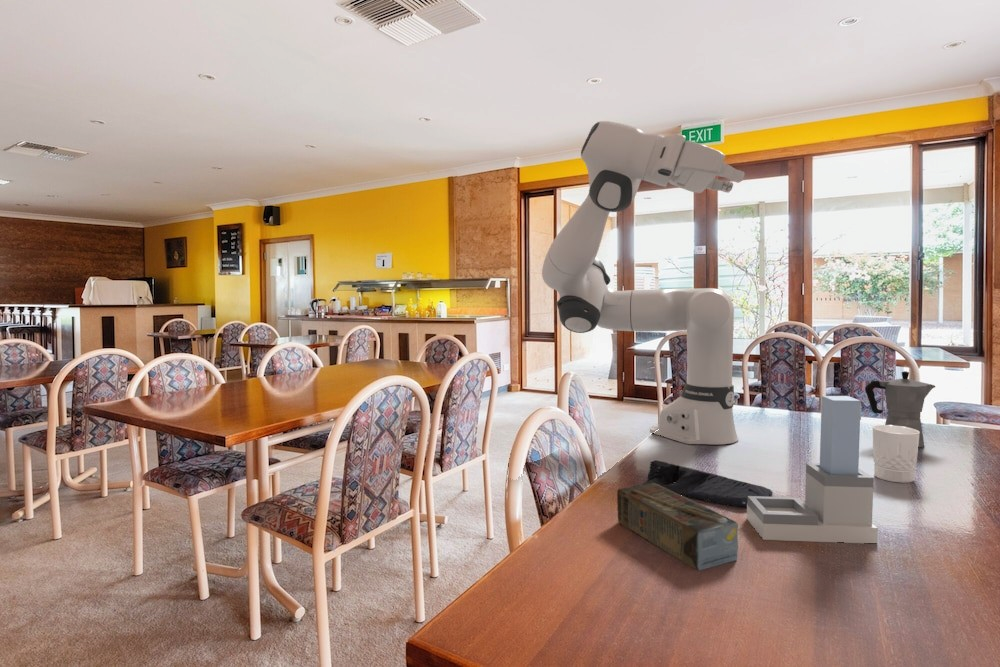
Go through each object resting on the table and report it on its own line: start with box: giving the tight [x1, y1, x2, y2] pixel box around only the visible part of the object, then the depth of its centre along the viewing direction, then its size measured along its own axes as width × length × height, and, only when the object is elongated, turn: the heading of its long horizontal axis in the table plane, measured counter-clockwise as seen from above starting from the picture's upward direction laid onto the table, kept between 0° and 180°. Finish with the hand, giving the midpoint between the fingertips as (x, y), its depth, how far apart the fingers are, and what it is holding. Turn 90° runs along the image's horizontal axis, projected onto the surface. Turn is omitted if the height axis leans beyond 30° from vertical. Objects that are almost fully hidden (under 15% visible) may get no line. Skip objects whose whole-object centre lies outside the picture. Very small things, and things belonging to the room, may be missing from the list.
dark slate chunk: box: [641, 460, 774, 507], centre depth 113 cm, size 15×22×5 cm
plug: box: [819, 395, 862, 475], centre depth 92 cm, size 5×4×13 cm
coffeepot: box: [864, 371, 936, 448], centre depth 144 cm, size 15×9×18 cm, turn 79°
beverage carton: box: [616, 482, 739, 571], centre depth 90 cm, size 8×19×7 cm, turn 24°
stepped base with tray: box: [746, 462, 879, 544], centre depth 93 cm, size 16×8×10 cm, turn 83°
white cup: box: [872, 424, 920, 484], centre depth 118 cm, size 8×8×10 cm
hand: (737, 183), depth 110 cm, fingers open, 8 cm apart
